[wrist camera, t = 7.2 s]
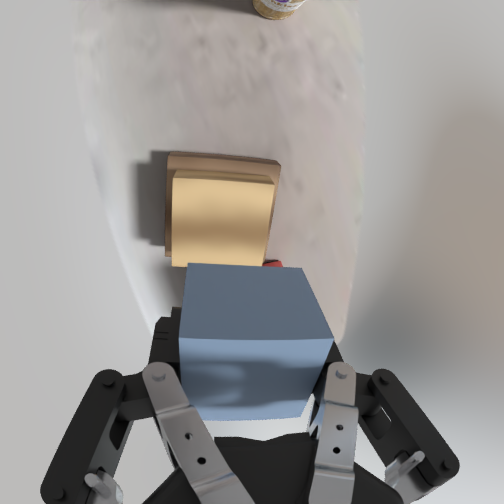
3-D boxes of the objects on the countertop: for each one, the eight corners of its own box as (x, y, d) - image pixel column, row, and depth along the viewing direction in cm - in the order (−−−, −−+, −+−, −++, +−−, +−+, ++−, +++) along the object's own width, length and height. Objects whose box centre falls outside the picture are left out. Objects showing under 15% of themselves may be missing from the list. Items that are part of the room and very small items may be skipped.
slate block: (187, 262, 14) (178, 337, 10) (301, 267, 15) (334, 338, 11) (187, 345, 17) (184, 419, 12) (281, 347, 17) (300, 416, 13)
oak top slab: (177, 169, 28) (172, 177, 25) (269, 176, 29) (274, 185, 27) (175, 251, 32) (172, 266, 30) (257, 255, 34) (261, 270, 31)
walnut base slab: (172, 150, 30) (167, 156, 27) (275, 159, 32) (281, 165, 29) (168, 243, 35) (165, 256, 32) (260, 249, 37) (264, 262, 34)
